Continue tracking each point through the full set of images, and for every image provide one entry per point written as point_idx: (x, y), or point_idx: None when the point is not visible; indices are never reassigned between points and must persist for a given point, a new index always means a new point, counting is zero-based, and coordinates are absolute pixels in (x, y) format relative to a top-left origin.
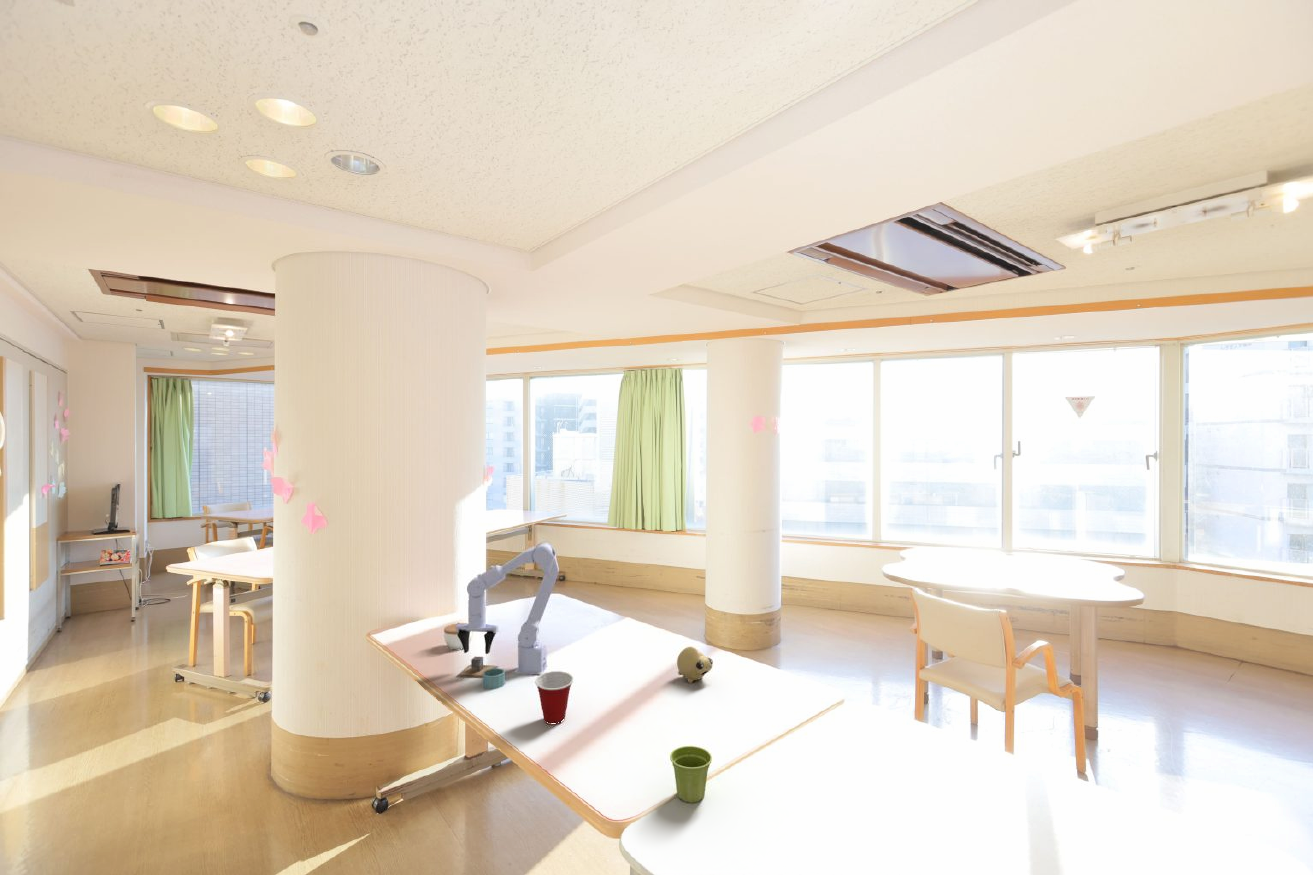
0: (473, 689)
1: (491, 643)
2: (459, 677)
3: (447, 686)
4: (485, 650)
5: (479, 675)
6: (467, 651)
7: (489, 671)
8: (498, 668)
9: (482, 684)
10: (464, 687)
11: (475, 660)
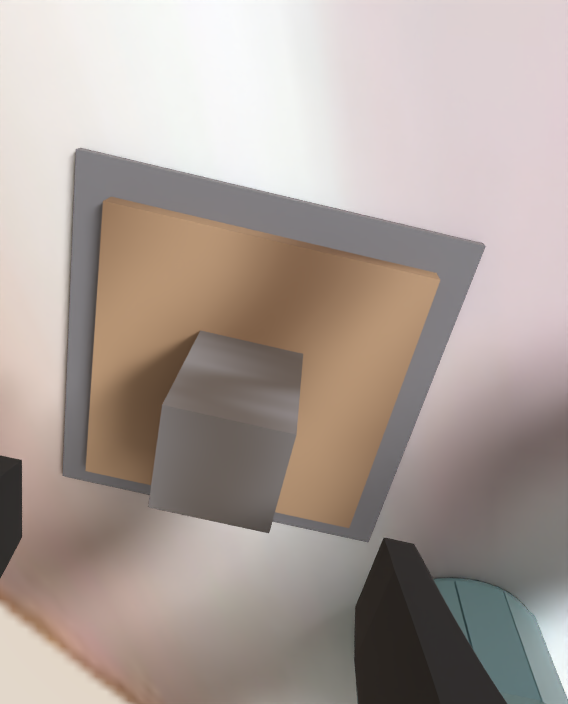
0: (295, 670)
1: (488, 686)
2: (109, 485)
3: (78, 603)
4: (359, 676)
5: (298, 515)
6: (18, 500)
7: None
8: (518, 697)
9: None
10: (218, 635)
11: (211, 511)
